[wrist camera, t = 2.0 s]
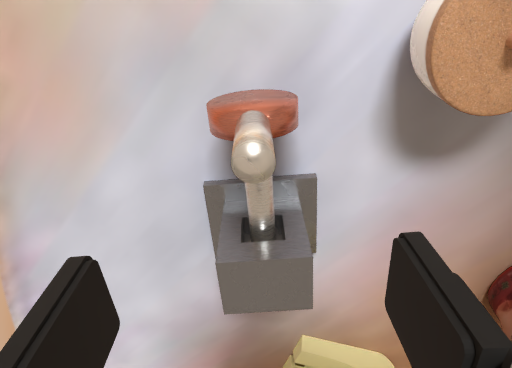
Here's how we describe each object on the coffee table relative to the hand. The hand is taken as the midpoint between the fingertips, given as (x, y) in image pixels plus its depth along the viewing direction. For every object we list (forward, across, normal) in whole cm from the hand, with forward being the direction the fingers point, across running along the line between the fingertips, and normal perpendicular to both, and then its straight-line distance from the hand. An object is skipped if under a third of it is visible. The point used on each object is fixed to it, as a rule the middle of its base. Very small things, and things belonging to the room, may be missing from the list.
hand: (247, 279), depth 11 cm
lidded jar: (+24, -18, -4) cm, 31 cm away
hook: (+21, 0, +8) cm, 23 cm away
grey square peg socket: (+24, 0, +14) cm, 28 cm away
